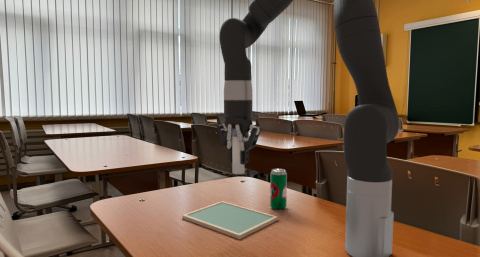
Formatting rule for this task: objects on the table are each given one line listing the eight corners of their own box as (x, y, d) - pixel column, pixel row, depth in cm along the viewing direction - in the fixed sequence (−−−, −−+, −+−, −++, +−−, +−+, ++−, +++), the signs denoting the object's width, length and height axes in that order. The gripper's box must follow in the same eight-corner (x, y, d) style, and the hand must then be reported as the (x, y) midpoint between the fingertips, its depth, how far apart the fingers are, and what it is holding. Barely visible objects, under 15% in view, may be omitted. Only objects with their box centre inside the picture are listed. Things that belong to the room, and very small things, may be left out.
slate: (277, 220, 96) (277, 216, 96) (239, 239, 84) (239, 235, 84) (222, 204, 110) (222, 201, 110) (182, 218, 98) (182, 215, 98)
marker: (247, 172, 92) (247, 128, 91) (239, 175, 89) (239, 129, 88) (237, 170, 94) (237, 127, 93) (229, 173, 91) (229, 128, 90)
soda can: (285, 211, 104) (286, 172, 102) (269, 209, 105) (269, 171, 103) (287, 205, 109) (287, 168, 107) (271, 204, 110) (271, 167, 108)
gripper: (268, 98, 88) (268, 164, 90) (226, 98, 97) (227, 158, 99) (251, 98, 82) (251, 169, 84) (208, 98, 91) (209, 162, 93)
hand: (238, 162), depth 91 cm, fingers closed on marker, 3 cm apart
